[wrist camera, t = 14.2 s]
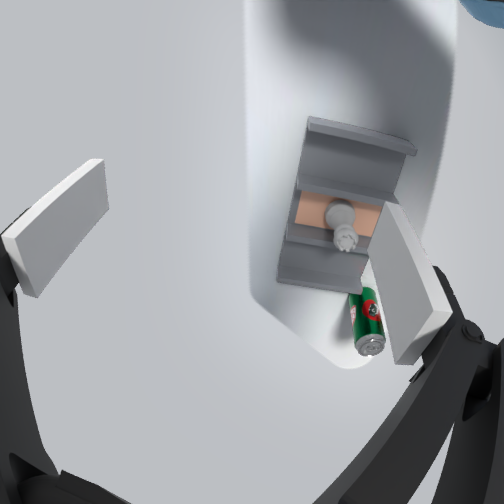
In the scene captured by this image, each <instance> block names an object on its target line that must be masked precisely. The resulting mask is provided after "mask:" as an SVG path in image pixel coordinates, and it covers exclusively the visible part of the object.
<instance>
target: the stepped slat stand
mask: <svg viewBox="0 0 504 504" xmlns="http://www.w3.org/2000/svg"><path fill="white" fill-rule="evenodd" d="M416 152H417V149H416V148H415V147H414V146H413V145H412V144H411V143H410V142H409V141H408V140H404V139H401V138H398V137H394V136H391V135H387V134H384V133H380V132H376V131H373V130H369V129H365V128H361V127H357V126H353V125H348V124H344V123H340V122H335V121H331V120H326V119H321V118H316V117H311V116H309V117H308V122H307V128H306V133H305V138H304V143H303V148H302V154H301V159H300V164H299V169H298V174H297V179H296V183H295V188H294V193H293V198H292V203H291V208H290V212H289V217H288V222H287V227H286V231H285V236H284V241H283V245H282V250H281V254H280V259H279V263H278V270H277V282H280V283H286V284H292V285H299V286H305V287H312V288H318V289H325V290H332V291H339V292H346V293H352V294H360V295H361V293H362V291H363V288H362V283H361V279H360V278H361V275H362V273H363V271H364V268H365V266H366V263H367V261H368V259H369V255H368V251H367V249H368V247H369V244H370V242H371V239H372V236H373V234H374V231H375V228H376V226H377V223H378V220H379V218H380V215H381V212H382V209H383V206H384V204H385V201H387V202H391V203H395V204H399V203H398V201H397V199H396V198H395V196H394V194H393V193H394V190H395V187H396V184H397V181H398V178H399V175H400V172H401V169H402V166H403V163H404V159H405V156H406V154H408V155H412V156H415V155H416ZM336 200H345V201H348V202H349V203H351V204H352V206H353V207H354V209H355V216H356V218H355V221H354V224H353V225H352V226H353V228H354V229H355V232H356V233H357V234H358V238H359V240H358V243H357V245H356V246H355V247H356V248H355V249H354V250H352V249H350V250H349V251H350V252H346V250H343V251H340V250H339V249H338V248H337V247H336V246H335V245H334V241H333V239H334V229H333V228H331V227H330V226H329V225H328V223H327V222H326V219H325V214H324V213H325V210H326V207H327V206H328V205H329V204H330V203H332V202H333V201H336Z"/></svg>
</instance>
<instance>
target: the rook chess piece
mask: <svg viewBox="0 0 504 504" xmlns="http://www.w3.org/2000/svg"><path fill="white" fill-rule="evenodd" d="M324 214H325V219H326V222H327V223H328V225H329V226H330V227H331V228H333V229H334V239H333V241H334V245H335V246H336V247H337V248H338V249H339V250H340V251H343V250H346V252H350V251H349V250H350V249H352V250H354V249H355V248H356V247H355V246H356V245H357V243H358V240H359V238H358V234H357V233H356V232H355V229H354V228H353V226H352V225H353V224H354V221H355V218H356V216H355V209H354V207H353V206H352V204H351V203H349V202H348V201H345V200H336V201H333V202H332V203H330V204H329V205H328V206H327V207H326V210H325V213H324Z"/></svg>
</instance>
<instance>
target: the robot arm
mask: <svg viewBox="0 0 504 504" xmlns="http://www.w3.org/2000/svg"><path fill="white" fill-rule="evenodd" d="M459 1H460V3H461V4H462V5H463V6H464V7H465V8H466V10H467V11H468V12H469V13H470V14H471V15H472V16H473V17H474V18H475V19H477V20H479V21H481V22H483V23H484V24H486V25H489V26H493V27H496V28H503V29H504V0H459ZM108 210H109V204H108V196H107V188H106V178H105V167H104V160H103V159H90V160H88V161H87V162H86V163H84V164H83V165H82V166H81V167H79V168H78V169H77V170H75V171H74V172H73V173H71V174H70V175H69V176H68V177H66V178H65V179H64V180H63V181H61V182H60V183H59V184H58V185H56V186H55V187H54V188H53V189H52V190H50V191H49V192H48V193H47V194H46V195H45V196H43V197H42V198H41V199H40V200H39V201H38V202H36V203H35V204H34V205H33V206H31V207H30V208H28V209H26V210H25V211H24V212H23V213H22V214H21V215H20V216H19V217H18V218H17V219H15V220H14V222H13V223H11V224H10V225H9V226H8V227H7V228H6V229H5V230H4V231H3V232H2V233H1V234H0V504H131V503H129V502H127V501H126V500H124V499H122V498H120V497H118V496H116V495H115V494H113V493H111V492H109V491H107V490H106V489H104V488H102V487H100V486H99V485H96V484H94V483H91V482H89V481H86V480H84V479H82V478H79V477H77V476H74V475H72V474H70V473H68V472H66V471H63V470H62V471H61V474H60V475H58V472H57V470H56V468H55V466H54V464H53V462H52V460H51V459H50V457H49V456H48V454H47V453H46V451H45V449H44V447H43V444H42V441H41V438H40V434H39V431H38V427H37V423H36V419H35V415H34V411H33V407H32V403H31V398H30V393H29V389H28V383H27V378H26V372H25V366H24V360H23V353H22V345H21V337H20V328H19V315H18V302H17V293H16V291H15V287H16V286H17V284H18V283H20V286H21V288H22V291H23V293H24V294H26V295H29V296H32V297H35V298H38V297H39V295H40V294H41V293H42V291H43V290H44V288H45V287H46V286H47V284H48V283H49V282H50V280H51V279H52V278H53V276H54V275H55V274H56V272H57V271H58V270H59V268H60V267H61V266H62V265H63V263H64V262H65V261H66V259H67V258H68V257H69V255H70V254H71V253H72V252H73V251H74V250H75V248H76V247H77V246H78V245H79V243H80V242H81V241H82V240H83V238H84V237H85V236H86V235H87V234H88V233H89V231H90V230H91V229H92V228H93V227H94V225H95V224H96V223H97V222H98V221H99V220H100V219H101V218H102V216H103V215H104V214H105V213H106V212H107V211H108ZM367 251H368V255H369V258H370V262H371V265H372V269H373V272H374V276H375V280H376V284H377V287H378V291H379V295H380V299H381V303H382V307H383V311H384V315H385V320H386V324H387V329H388V333H389V337H390V342H391V347H392V352H393V357H394V362H395V364H398V365H414V363H415V362H416V361H417V360H418V358H419V357H420V356H421V355H422V359H423V363H424V364H423V365H422V367H421V368H420V369H419V370H418V371H417V372H416V373H415V375H414V376H413V377H412V378H411V379H410V380H409V381H410V382H411V383H410V385H409V386H408V388H407V389H406V391H405V392H404V394H403V395H402V397H401V398H400V400H399V401H398V402H397V404H396V405H395V407H394V408H393V410H392V411H391V413H390V414H389V415H388V417H387V418H386V419H385V421H384V422H383V424H382V425H381V426H380V427H379V429H378V430H377V431H376V433H375V434H374V435H373V436H372V438H371V439H370V440H369V442H368V443H367V444H366V445H365V447H364V448H363V449H362V450H361V452H360V453H359V454H358V455H357V456H356V457H355V459H354V460H353V461H352V462H351V463H350V464H349V466H348V467H347V468H346V469H345V470H344V471H343V472H342V473H341V474H340V476H339V477H338V478H337V479H336V480H335V481H334V482H333V483H332V484H331V485H330V486H329V487H328V488H327V489H326V491H325V492H324V493H323V494H322V495H321V496H320V497H319V498H318V499H317V500H316V501H315V502H314V503H313V504H407V503H408V502H409V500H410V499H411V497H412V496H413V494H414V493H415V491H416V490H417V488H418V486H419V485H420V483H421V482H422V480H423V479H424V477H425V475H426V474H427V472H428V470H429V469H430V467H431V465H432V464H433V462H434V460H435V458H436V456H437V455H438V453H439V451H440V449H441V447H442V445H443V444H444V442H445V440H446V438H447V436H448V434H449V432H450V430H451V428H452V426H453V424H454V427H453V431H452V436H451V440H450V444H449V448H448V452H447V456H446V459H445V463H444V466H443V470H442V473H441V477H440V480H439V483H438V486H437V489H436V492H435V495H434V498H433V501H432V503H431V504H504V338H503V339H502V340H501V342H500V343H499V344H498V345H496V344H493V343H491V342H488V341H486V340H485V338H484V335H483V332H482V331H481V329H480V328H479V327H478V326H477V325H476V324H475V323H473V322H471V321H470V320H466V319H465V318H464V315H463V313H462V311H461V308H460V306H459V304H458V301H457V299H456V297H455V295H453V290H452V288H451V287H450V284H449V282H448V280H447V278H446V276H445V275H444V273H443V272H442V271H441V270H440V269H439V268H438V267H437V266H432V265H431V263H430V260H429V258H428V256H427V254H426V252H425V250H424V248H423V246H422V244H421V242H420V240H419V238H418V237H417V235H416V233H415V231H414V229H413V227H412V225H411V223H410V222H409V220H408V218H407V216H406V214H405V213H404V211H403V209H402V207H401V205H399V204H395V203H391V202H387V201H385V204H384V206H383V209H382V212H381V215H380V218H379V220H378V223H377V226H376V228H375V231H374V234H373V236H372V239H371V242H370V244H369V247H368V249H367ZM454 421H455V422H454Z"/></svg>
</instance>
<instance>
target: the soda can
mask: <svg viewBox="0 0 504 504" xmlns="http://www.w3.org/2000/svg"><path fill="white" fill-rule="evenodd" d="M362 288H363V291H362V293H361V295H360V294H352V293H350V295H349V298H348V300H349V307H350V314H351V321H352V328H353V336H354V344H355V348H356V349H357V350H358V353H359V354H360V355H362V356H374V355H377V354H379V353H380V352H382V351H383V349H384V344H385V342H386V338H385V333H384V329H383V324H382V319H381V315H380V311H379V306H378V302H377V298H376V294H375V292H374V290H372V289H371V288H368V287H362Z"/></svg>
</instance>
